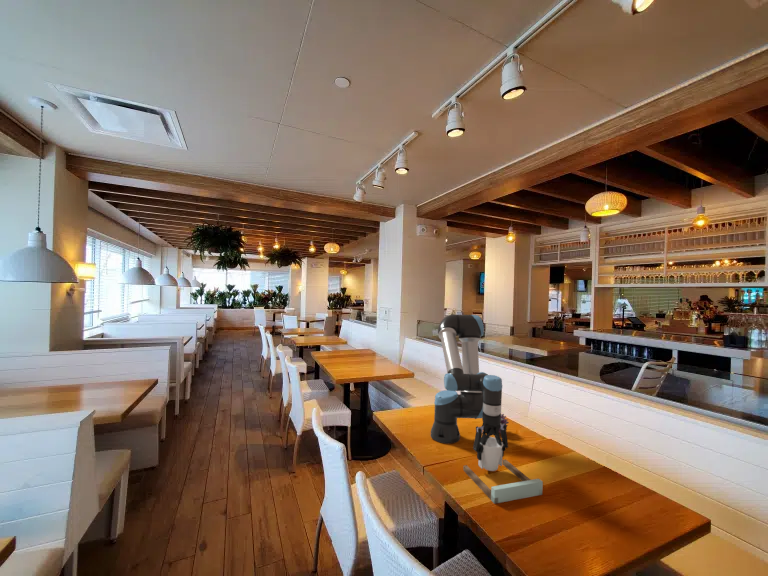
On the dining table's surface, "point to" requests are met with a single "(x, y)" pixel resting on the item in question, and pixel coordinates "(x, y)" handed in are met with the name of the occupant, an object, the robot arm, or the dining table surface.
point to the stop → (516, 490)
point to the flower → (503, 421)
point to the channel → (484, 486)
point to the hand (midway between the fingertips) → (490, 465)
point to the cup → (491, 454)
